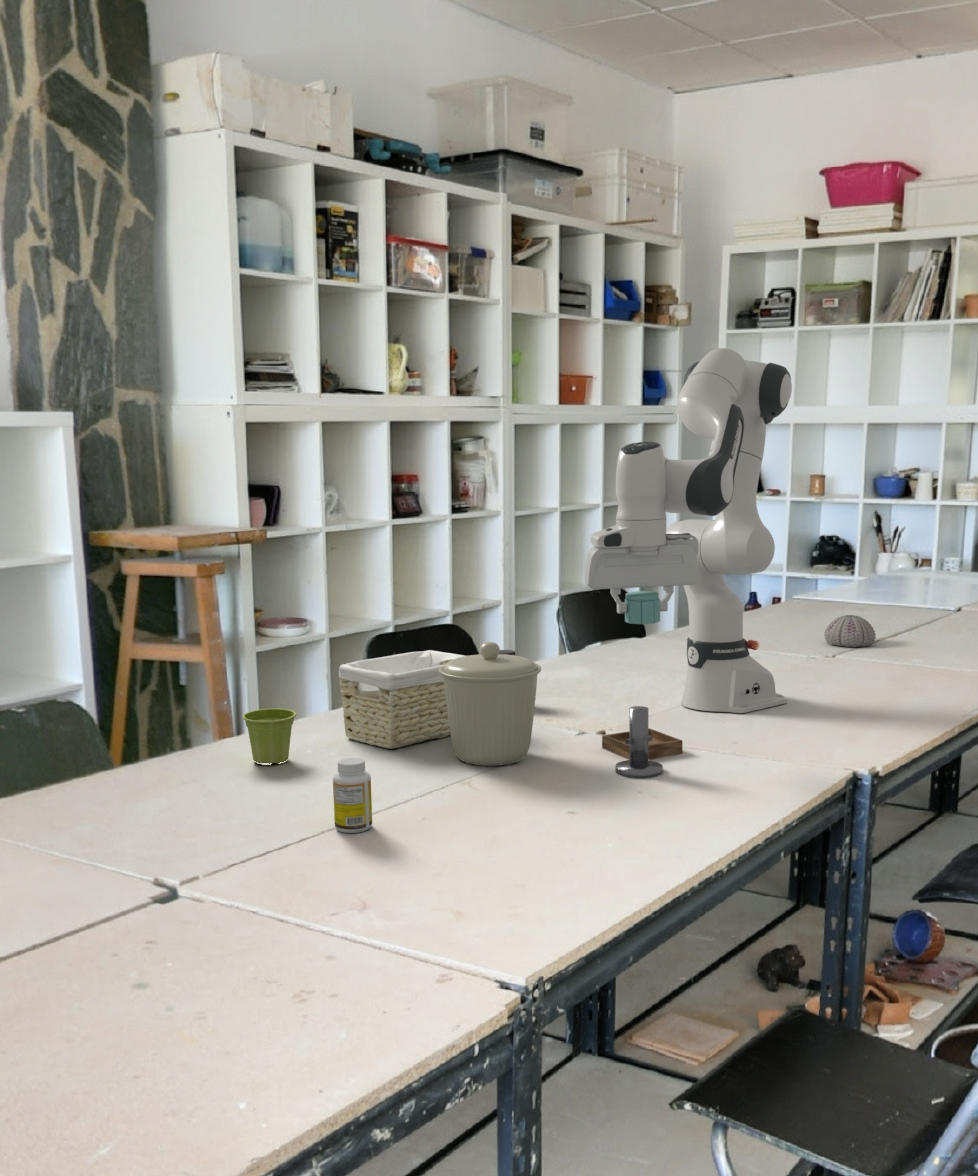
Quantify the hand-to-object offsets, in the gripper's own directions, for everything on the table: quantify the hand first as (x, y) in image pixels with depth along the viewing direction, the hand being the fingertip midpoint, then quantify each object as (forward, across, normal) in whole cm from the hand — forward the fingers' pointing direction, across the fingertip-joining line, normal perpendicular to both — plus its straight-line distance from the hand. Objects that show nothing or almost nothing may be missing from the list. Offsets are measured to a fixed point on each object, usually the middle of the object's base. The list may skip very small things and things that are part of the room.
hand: (642, 611), depth 214 cm
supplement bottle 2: (+26, +20, -39) cm, 51 cm away
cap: (+2, 0, 0) cm, 2 cm away
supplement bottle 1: (+25, +53, +35) cm, 68 cm away
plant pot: (+25, +67, -4) cm, 72 cm away
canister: (+25, +28, +1) cm, 38 cm away
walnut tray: (+25, 0, 0) cm, 25 cm away
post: (+25, +4, +13) cm, 29 cm away
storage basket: (+26, +41, -20) cm, 52 cm away
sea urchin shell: (+28, -80, -96) cm, 129 cm away
